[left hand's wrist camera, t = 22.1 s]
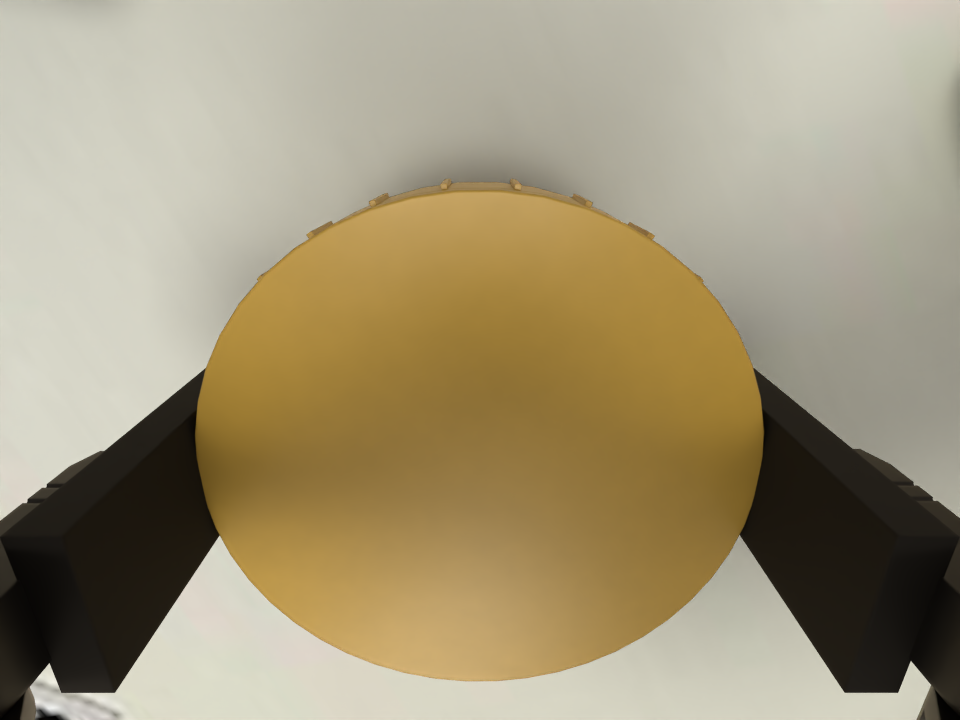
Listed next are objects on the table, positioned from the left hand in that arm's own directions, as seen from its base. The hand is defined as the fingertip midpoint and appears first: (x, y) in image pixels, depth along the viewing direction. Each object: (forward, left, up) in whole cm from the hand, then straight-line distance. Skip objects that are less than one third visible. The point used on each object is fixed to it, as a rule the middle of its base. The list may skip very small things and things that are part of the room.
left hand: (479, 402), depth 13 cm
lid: (0, 0, +3) cm, 3 cm away
